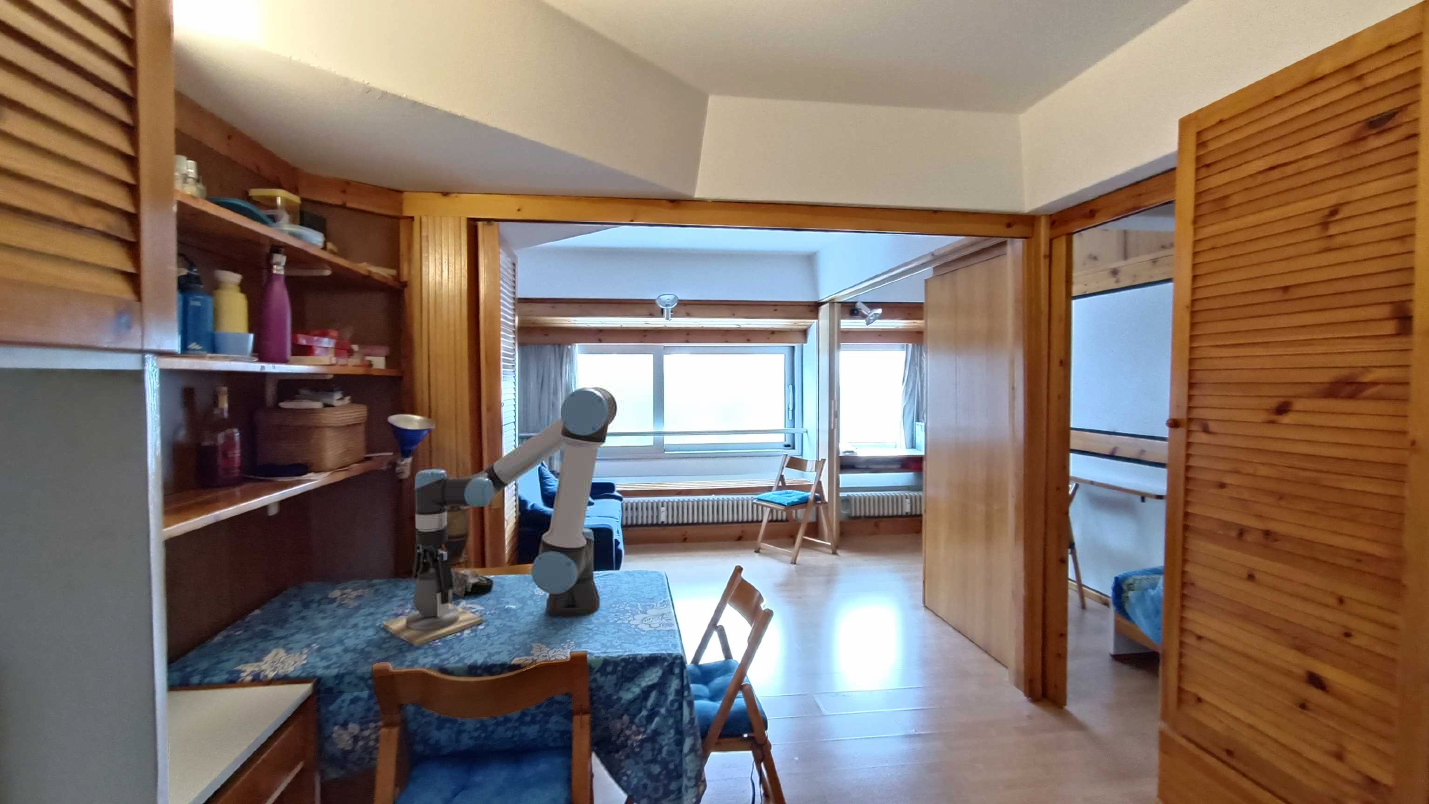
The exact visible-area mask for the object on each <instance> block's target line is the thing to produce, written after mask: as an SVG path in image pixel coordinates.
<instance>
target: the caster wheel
mask: <svg viewBox="0 0 1429 804" xmlns="http://www.w3.org/2000/svg"><path fill="white" fill-rule="evenodd" d="M451 573H452V579H453V586H454V588H453V589H451V591H452V594H453V595H456V596H459V597H461V598H462V597H463V598H464V596H465V592H466V591H467V592H470V593H471V592H473V593H479V594H480V593H482V594H483V593H484V594H485V593H489V592H491V591H492V590H493V587H494V586H493V585H494V581H493V579H491V578H489V577H487V576H482V575H480V574H479V573H478V571H476V570H473V569H466V570H465V569H464V570H462V571H458V570H455V569H452V568H451Z"/></svg>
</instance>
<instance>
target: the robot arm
mask: <svg viewBox="0 0 1429 804" xmlns="http://www.w3.org/2000/svg"><path fill="white" fill-rule="evenodd" d="M617 411H618V404H617V400H616V398H615V397H614V395H613V394H612V393H611V392H610V391H608V390H607V389H605V388H602V387H597V386H596V387H595V386H594V387H581V388H577V389H575V390H573V391H572V392H571V393H569V394H568V395H567V396H566V397H565V399H563V402H562V404H561V407H560V417H559V418H557V420H555V421H553V422H552V423H551V424H549V425H548V426H546V427H545V428H543V429H542V430H541V431H539V432H538V433H536V434H535V435H533V436H531V437H530V438H528V439H527V440H525V441H524V442H523V443H521V444H520V445H518V446H517V447H516V448H514V449H513V450H511V451H510V452H508V453H506V455H504V456H502V457H501V458H500V459H498V460H497V461H495V462H494V463H492V464H490V465H489V466H488V467H486V468H485V469H483V470H482V471H480V472H477V473H475V474H472V475H469V476H467V477H463V478H453V477H449V476H447V472H446V469H445V470H444V469H441V468H433V469H424V470H419V471H418V472H417V473H416V474H415V484H414V491H415V492H414V494H415V496H414V497H415V528H416V532H415V538H416V539H415V540H416V544H415V547H414V551H415V552H414V563H413V571H412V579H413V580H415V581H416V580H417V577H418V576H419V575H421V574H424V573H428V572H431V571H430V570H431V569H432V570H433V571H432V572H434V574H435V578H436V582H437V586H438V589H439V590H438V591H437V592H436V593H437V616H438V617H440V616H443V615H446V614H449V603H448V591H449V590H451V589H453V588H454V586H453V579H452V573H451V570H452V567H451V564H450V552H449V551H447V550H446V551H444V547H443V545H444V544H443V543H444V542H446V541H447V528H446V527H445V526H446V525H447V515H448V514H447V506H471V508H472V507H473V508H478V507H486V506H488V505H490V504H491V502H492V500H493V498H494V496H496V495H497V494H499V493H500V492H502V491H503V490H504V488H507V487H508V486H509V485H510V484H512V483H514V482H515V481H516V480H518V479H520V478H521V477H522V476H524V475H526V473H529V471H531V470H533V469H534V468H536V467H538V466H539V465H540V464H541V463H543V462H544V461H546V460H548V459H549V458H550V457H552V456H553V455H555V454H557V453H558V452H559V451H561V450H563V455H562V461H561V465H560V470H559V476H558V481H557V486H556V492H555V497H554V504H553V508H552V512H551V513H552V514H551V518H550V526H549V528H548V530H547V531H546V532H545V533H544V534H542V537H541V541H540V545H539V550H538V555H537V556H536V557H535V558H534V561H533V563H532V566H531V578H532V580H533V582H534V584H535V585H536V586H537V588H539V589H540V590H541V591H542V592H544V593H546V594H548V596H547V599H546V601H545V602H546V605H545V610H546V612H547V613H548V615H551V616H554V617H558V618H576V617H577V618H578V617H582V616H587V615H590V614H592V613H594V612H596V611H597V610H598V609H599V608H600V606H601V600H600V595H599V591H598V589H597V585H596V583H595V580H594V541H595V538H594V531H593V530H592V529H590V528H587V527H584V524H585V521H586V516H587V510H588V503H589V499H590V495H591V494H590V493H591V489H592V482H593V478H594V471H595V467H596V463H597V462H596V461H597V457H598V452H599V448H600V447H601V446H603V445H604V444H606V441H607V434H608V430H609V425H610V424H612V422H613V421H614V420H615V417H616V416H617Z"/></svg>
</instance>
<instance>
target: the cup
mask: <svg viewBox="0 0 1429 804" xmlns="http://www.w3.org/2000/svg"><path fill="white" fill-rule="evenodd" d="M415 581H416V582H415V587H414V588H415V589H414V594H413V598H412V602H413V604H414V606H415V608H416V611H419V613H420V614H421V615H423V616H435V615H437V593H436V592H437V591H438V590H439V589H438V586H437V582H436V578H435V574H434V571H429V572H428V573H424V574H421V575H419V576H418V577H417V580H416V579H415ZM452 599H453V593H452V591H451V590H449V591H448V603H450V604H451V601H452Z"/></svg>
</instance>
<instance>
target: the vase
mask: <svg viewBox="0 0 1429 804" xmlns="http://www.w3.org/2000/svg"><path fill="white" fill-rule="evenodd" d="M471 509H472V507H471V506H447V514H448V515H447V525H446V526H445V527H446V528H447V541H446V542H444V543H443V544H442V545H443V546H444V548H445V550H446V552H447V551H449V552H450V565H458V564H462V563H464V562H465V563H466V562H467V561H468V559H469V556H468V555H466V554H463V553H464V551H465V548H466V547H467V546H466V545H467V544H468V540H469V535H470V530H471V529H470V525H471ZM462 554H463V555H462Z"/></svg>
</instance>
